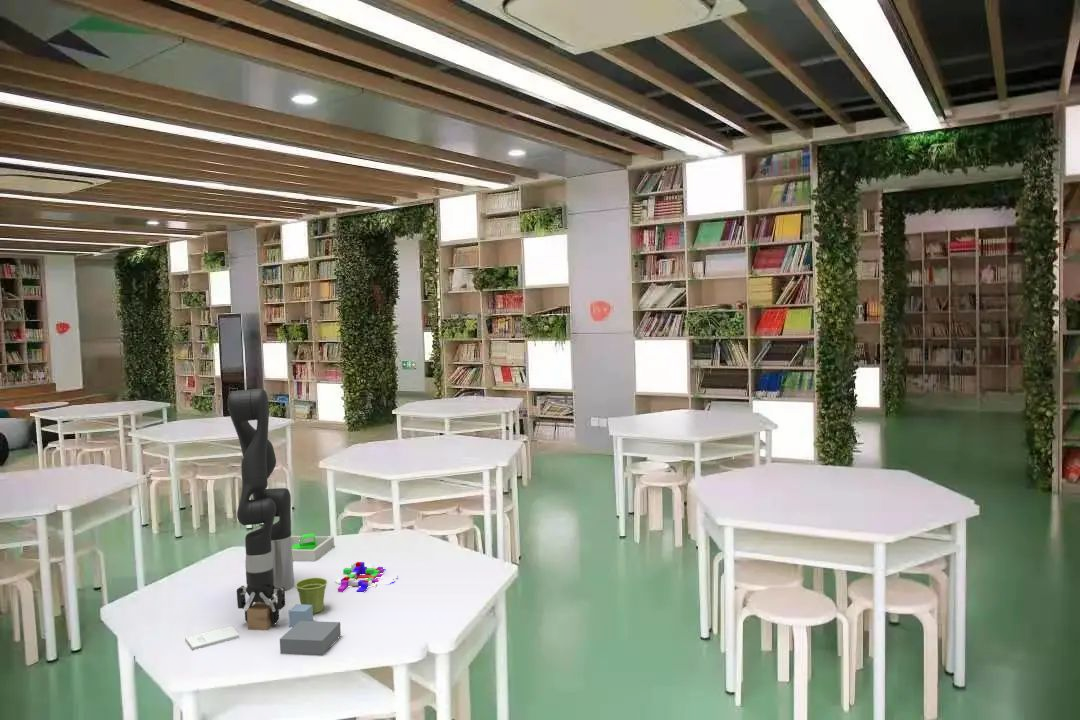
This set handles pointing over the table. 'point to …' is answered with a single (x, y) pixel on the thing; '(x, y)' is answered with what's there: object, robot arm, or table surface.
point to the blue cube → (300, 614)
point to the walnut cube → (259, 617)
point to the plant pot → (312, 592)
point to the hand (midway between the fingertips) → (262, 622)
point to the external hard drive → (212, 637)
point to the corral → (312, 555)
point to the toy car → (306, 545)
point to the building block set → (359, 576)
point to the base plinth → (310, 638)
